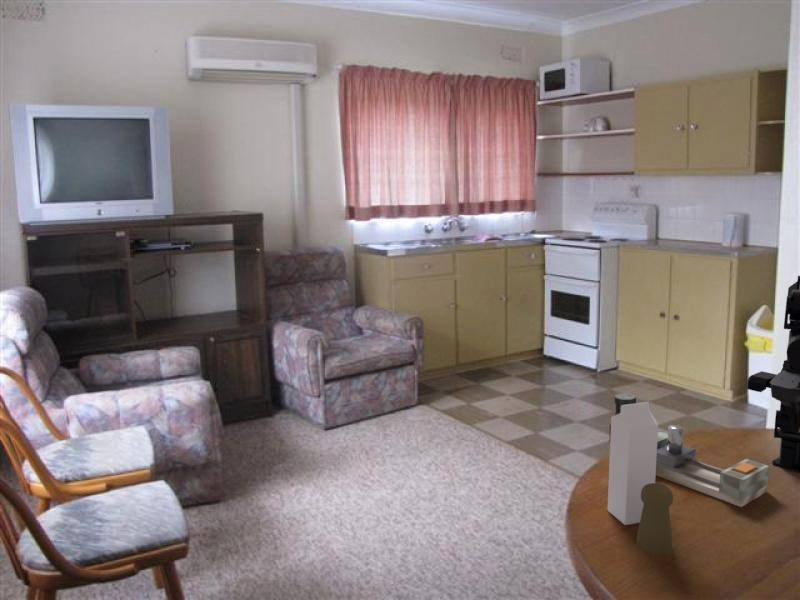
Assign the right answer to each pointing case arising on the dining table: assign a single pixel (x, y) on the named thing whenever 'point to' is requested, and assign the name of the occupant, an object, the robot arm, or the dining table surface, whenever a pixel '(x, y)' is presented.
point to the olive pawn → (655, 520)
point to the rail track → (716, 478)
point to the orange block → (745, 468)
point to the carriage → (675, 449)
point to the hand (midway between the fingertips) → (796, 432)
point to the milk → (631, 460)
